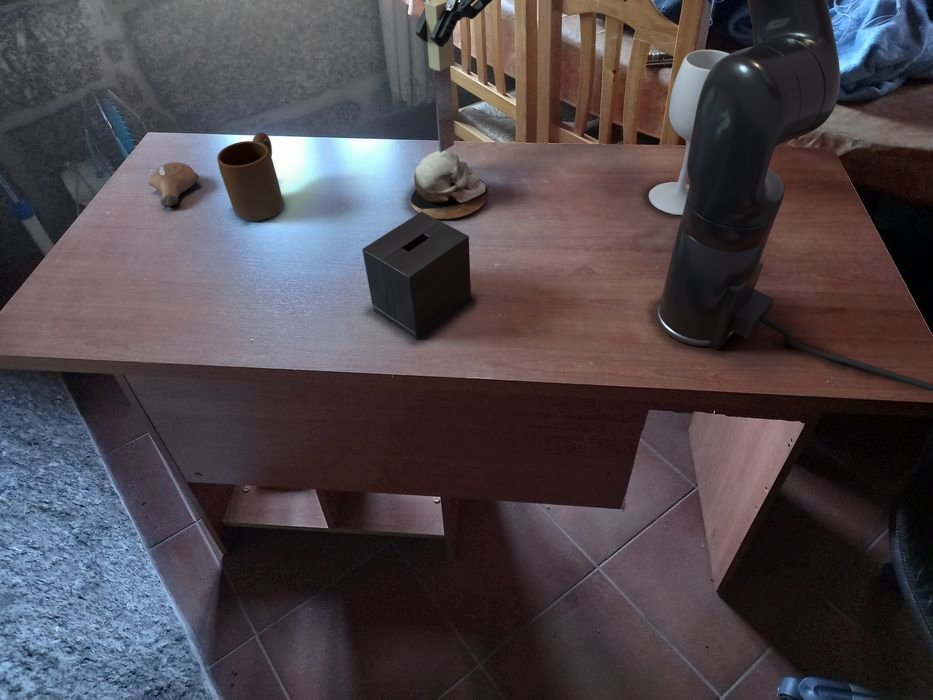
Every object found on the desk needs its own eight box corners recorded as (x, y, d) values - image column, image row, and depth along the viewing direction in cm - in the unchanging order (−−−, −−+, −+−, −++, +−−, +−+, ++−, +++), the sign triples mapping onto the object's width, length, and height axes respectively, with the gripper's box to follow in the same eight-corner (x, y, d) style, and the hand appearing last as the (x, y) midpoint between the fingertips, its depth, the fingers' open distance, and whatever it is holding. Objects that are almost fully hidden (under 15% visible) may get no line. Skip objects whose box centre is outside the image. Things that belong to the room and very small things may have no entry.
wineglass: (690, 179, 103) (724, 42, 88) (718, 210, 97) (760, 68, 82) (639, 189, 101) (664, 51, 86) (664, 220, 96) (697, 78, 80)
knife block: (471, 298, 85) (469, 235, 78) (416, 339, 80) (409, 277, 73) (427, 272, 89) (421, 211, 82) (373, 310, 84) (361, 248, 77)
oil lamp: (139, 204, 104) (175, 217, 101) (127, 184, 101) (163, 197, 98) (179, 170, 109) (214, 183, 106) (168, 150, 105) (204, 162, 103)
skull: (485, 165, 105) (489, 144, 95) (487, 229, 105) (491, 214, 95) (411, 166, 105) (407, 145, 95) (412, 230, 105) (408, 216, 95)
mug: (255, 178, 107) (239, 124, 100) (300, 181, 106) (287, 126, 99) (226, 221, 99) (206, 165, 92) (274, 224, 98) (257, 168, 91)
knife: (458, 146, 95) (451, -1, 81) (445, 154, 94) (436, 6, 79) (448, 142, 96) (440, -4, 82) (435, 150, 95) (424, 2, 80)
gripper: (434, -124, 80) (373, 12, 83) (522, -108, 73) (453, 39, 76) (465, -83, 86) (407, 42, 89) (548, -65, 80) (483, 69, 83)
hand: (429, 40), depth 83 cm, fingers closed on knife, 2 cm apart
